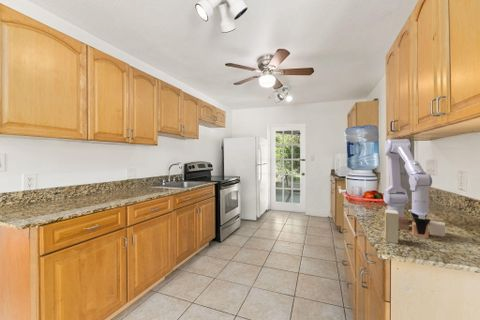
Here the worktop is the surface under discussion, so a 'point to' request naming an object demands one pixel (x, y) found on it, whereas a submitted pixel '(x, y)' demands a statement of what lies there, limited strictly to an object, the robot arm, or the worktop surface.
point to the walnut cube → (403, 223)
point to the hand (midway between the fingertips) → (420, 231)
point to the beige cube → (437, 228)
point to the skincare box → (391, 226)
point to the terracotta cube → (415, 233)
